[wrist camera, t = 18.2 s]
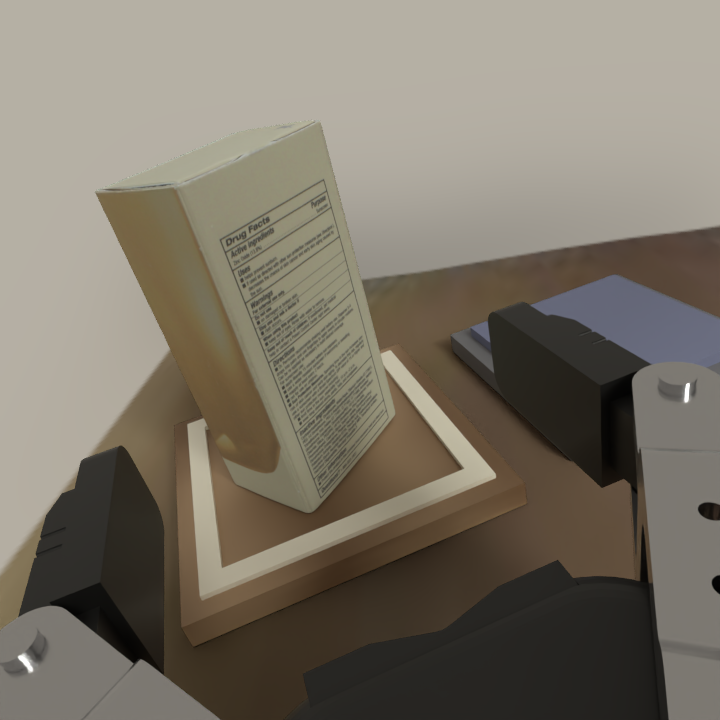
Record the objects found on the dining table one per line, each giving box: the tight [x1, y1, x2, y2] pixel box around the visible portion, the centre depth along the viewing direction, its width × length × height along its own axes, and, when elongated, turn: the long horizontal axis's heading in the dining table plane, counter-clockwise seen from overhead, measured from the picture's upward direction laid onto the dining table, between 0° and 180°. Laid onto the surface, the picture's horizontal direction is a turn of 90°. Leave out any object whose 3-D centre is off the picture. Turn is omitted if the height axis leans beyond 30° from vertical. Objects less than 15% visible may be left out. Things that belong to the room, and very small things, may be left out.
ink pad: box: [450, 274, 720, 461], centre depth 26 cm, size 10×10×2 cm
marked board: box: [174, 344, 527, 647], centre depth 24 cm, size 12×12×1 cm
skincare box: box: [95, 120, 395, 513], centre depth 20 cm, size 6×4×12 cm
